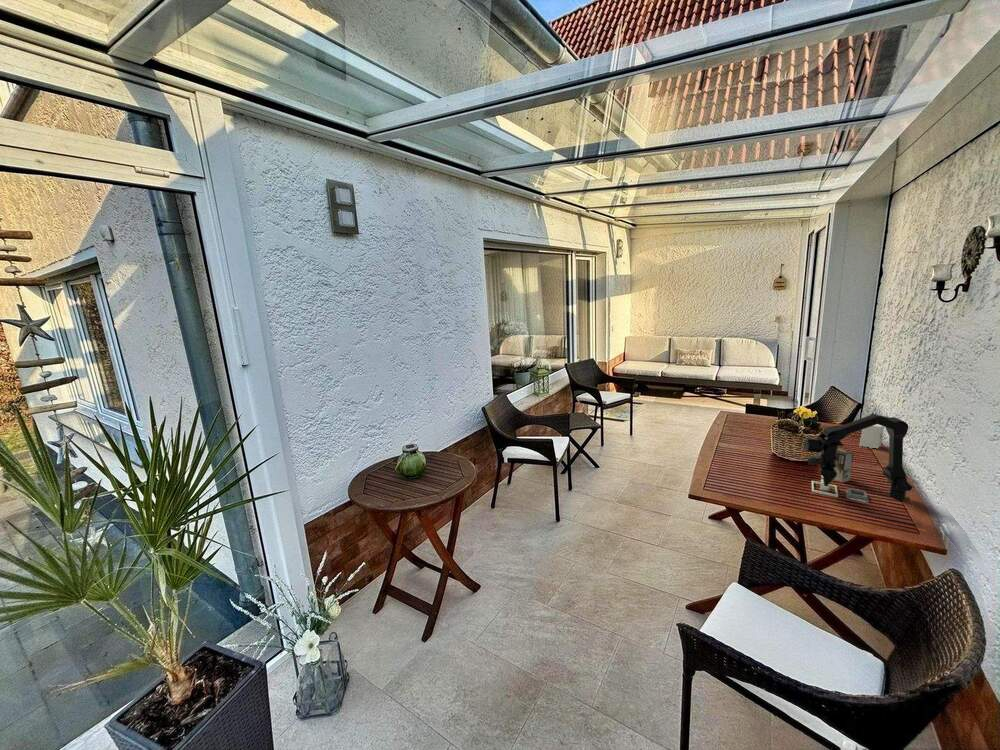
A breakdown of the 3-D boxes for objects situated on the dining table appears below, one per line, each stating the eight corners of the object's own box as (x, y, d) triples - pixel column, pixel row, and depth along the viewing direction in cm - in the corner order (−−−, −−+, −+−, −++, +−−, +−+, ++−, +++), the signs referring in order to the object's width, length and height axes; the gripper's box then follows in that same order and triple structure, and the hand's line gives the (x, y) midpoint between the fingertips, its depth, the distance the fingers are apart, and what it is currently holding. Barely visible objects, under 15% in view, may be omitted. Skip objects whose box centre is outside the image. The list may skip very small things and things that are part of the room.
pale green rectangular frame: (811, 483, 215) (811, 480, 215) (835, 488, 209) (836, 485, 209) (812, 493, 205) (812, 490, 205) (837, 498, 200) (838, 495, 199)
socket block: (845, 491, 206) (845, 486, 206) (866, 495, 202) (867, 490, 201) (846, 499, 198) (847, 494, 198) (868, 504, 194) (869, 499, 193)
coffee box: (850, 481, 216) (854, 453, 212) (842, 483, 214) (846, 455, 210) (831, 474, 224) (835, 446, 221) (823, 476, 222) (827, 448, 219)
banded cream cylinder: (819, 487, 210) (821, 471, 208) (828, 489, 208) (831, 473, 206) (819, 490, 207) (822, 474, 205) (829, 492, 205) (831, 475, 203)
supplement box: (878, 450, 253) (882, 427, 250) (859, 446, 260) (862, 423, 257) (881, 446, 258) (885, 423, 255) (862, 442, 265) (866, 420, 262)
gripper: (808, 443, 215) (805, 471, 218) (809, 456, 200) (805, 485, 203) (836, 447, 209) (832, 476, 212) (838, 461, 194) (834, 491, 197)
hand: (825, 482), depth 206 cm, fingers open, 9 cm apart
